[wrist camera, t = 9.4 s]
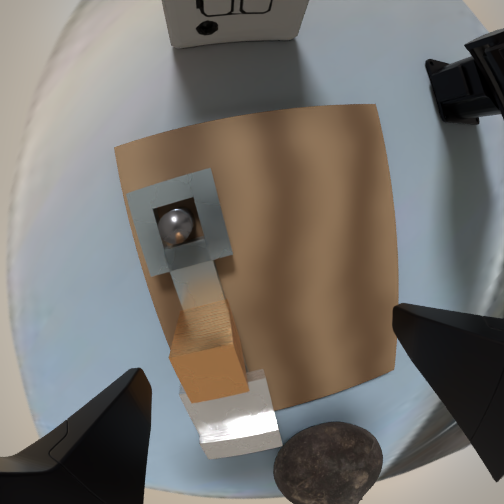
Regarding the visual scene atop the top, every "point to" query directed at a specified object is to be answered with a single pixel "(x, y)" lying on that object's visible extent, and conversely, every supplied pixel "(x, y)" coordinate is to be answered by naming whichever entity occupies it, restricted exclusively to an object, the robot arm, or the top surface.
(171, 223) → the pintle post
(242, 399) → the block
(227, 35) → the electrical switch
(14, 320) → the top surface
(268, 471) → the top surface
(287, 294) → the base board
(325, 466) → the dark brown tapered bulb
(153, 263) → the link
